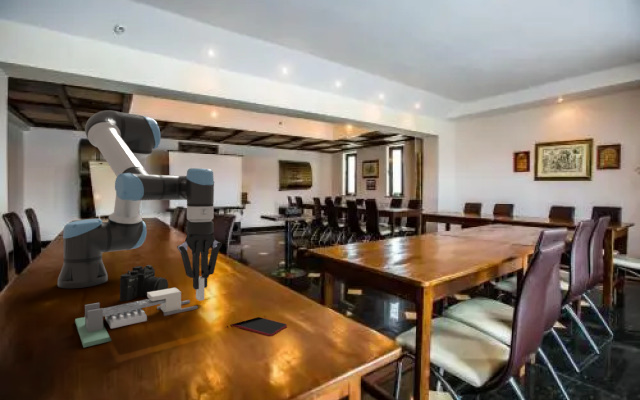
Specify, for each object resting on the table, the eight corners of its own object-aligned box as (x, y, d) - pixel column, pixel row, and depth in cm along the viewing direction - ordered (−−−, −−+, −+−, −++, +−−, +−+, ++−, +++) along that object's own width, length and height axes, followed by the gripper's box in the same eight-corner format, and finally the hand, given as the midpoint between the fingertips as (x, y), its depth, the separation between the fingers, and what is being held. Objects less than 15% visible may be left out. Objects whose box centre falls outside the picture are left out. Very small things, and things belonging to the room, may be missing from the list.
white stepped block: (147, 311, 93) (147, 292, 93) (175, 306, 98) (175, 287, 98) (152, 317, 89) (152, 296, 89) (181, 310, 94) (181, 291, 94)
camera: (146, 307, 100) (146, 274, 100) (114, 304, 102) (114, 272, 101) (173, 293, 114) (173, 264, 113) (145, 291, 115) (145, 262, 115)
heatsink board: (75, 322, 87) (75, 300, 87) (184, 300, 106) (184, 281, 106) (83, 347, 74) (83, 320, 74) (206, 317, 92) (207, 296, 92)
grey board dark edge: (92, 319, 81) (91, 315, 81) (89, 315, 84) (89, 310, 84) (164, 303, 92) (164, 299, 91) (160, 299, 95) (160, 295, 94)
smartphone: (271, 334, 81) (225, 322, 88) (271, 338, 81) (225, 325, 88) (288, 324, 87) (243, 313, 94) (288, 327, 87) (243, 316, 94)
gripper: (182, 222, 92) (181, 307, 93) (226, 220, 101) (226, 298, 101) (173, 220, 98) (173, 300, 98) (216, 218, 106) (215, 292, 107)
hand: (200, 299), depth 100 cm, fingers closed
